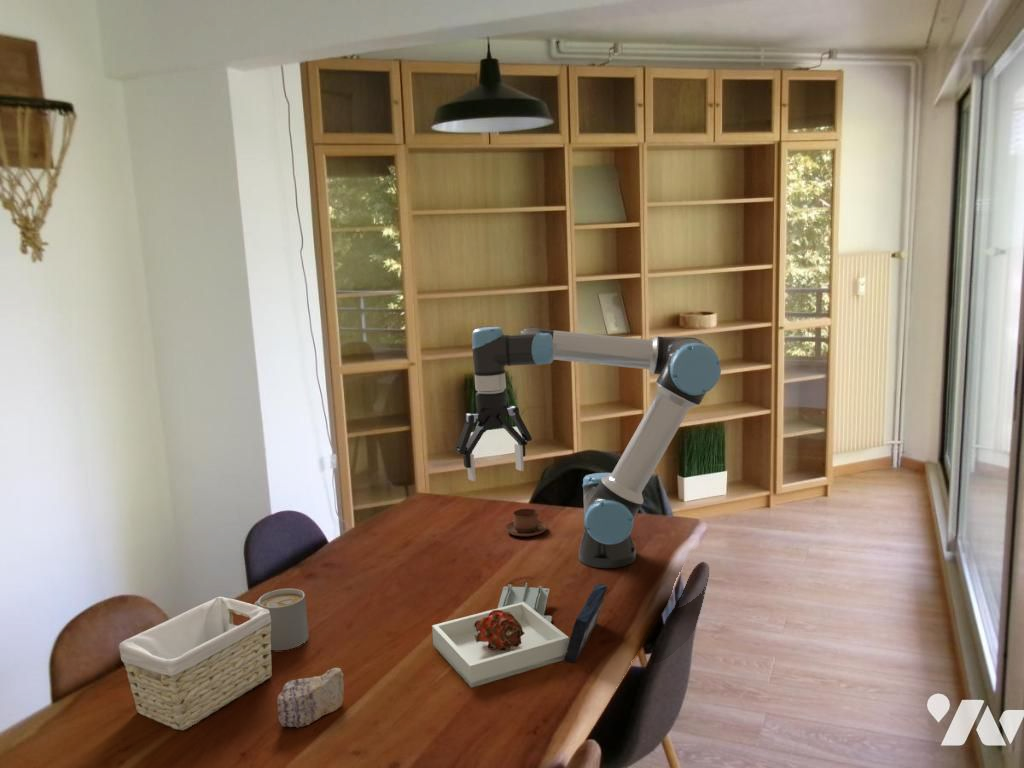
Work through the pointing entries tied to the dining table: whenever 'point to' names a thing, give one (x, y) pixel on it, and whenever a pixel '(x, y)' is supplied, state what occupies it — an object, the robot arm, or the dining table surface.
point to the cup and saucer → (526, 523)
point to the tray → (490, 665)
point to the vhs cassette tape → (585, 623)
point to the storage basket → (198, 661)
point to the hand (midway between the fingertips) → (496, 474)
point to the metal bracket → (526, 598)
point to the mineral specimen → (310, 698)
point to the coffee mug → (286, 617)
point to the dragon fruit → (499, 630)
